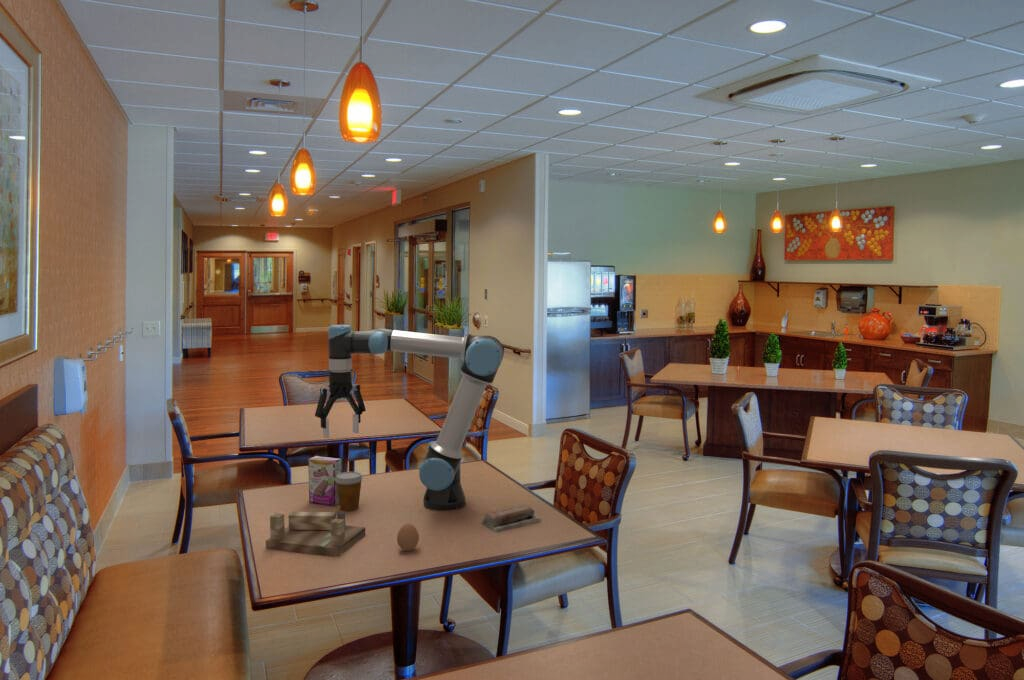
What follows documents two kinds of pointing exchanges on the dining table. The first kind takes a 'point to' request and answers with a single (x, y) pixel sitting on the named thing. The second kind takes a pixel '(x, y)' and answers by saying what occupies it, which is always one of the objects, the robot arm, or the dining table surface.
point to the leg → (311, 520)
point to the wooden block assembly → (313, 537)
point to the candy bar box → (323, 480)
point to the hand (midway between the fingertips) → (341, 434)
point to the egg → (407, 537)
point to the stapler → (510, 518)
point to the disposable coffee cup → (349, 489)
